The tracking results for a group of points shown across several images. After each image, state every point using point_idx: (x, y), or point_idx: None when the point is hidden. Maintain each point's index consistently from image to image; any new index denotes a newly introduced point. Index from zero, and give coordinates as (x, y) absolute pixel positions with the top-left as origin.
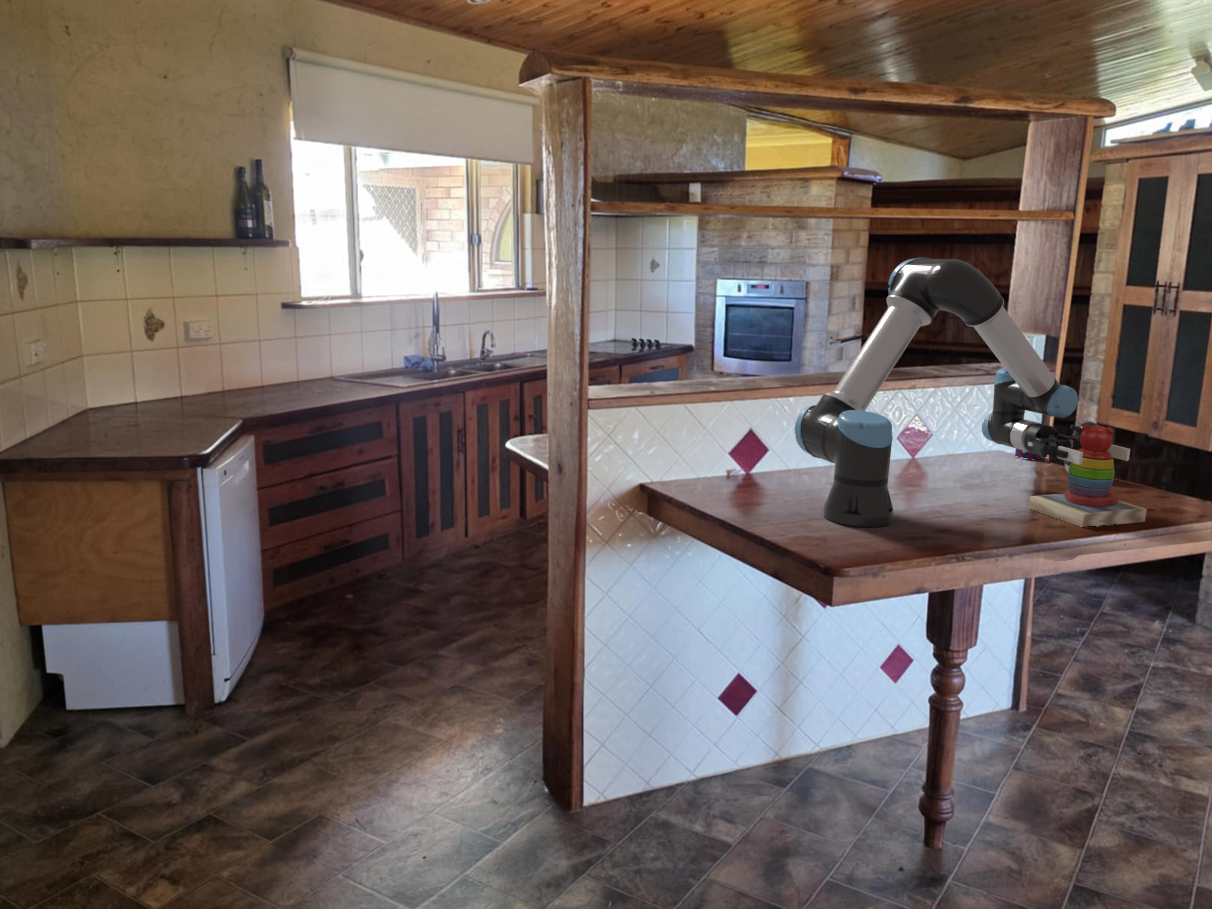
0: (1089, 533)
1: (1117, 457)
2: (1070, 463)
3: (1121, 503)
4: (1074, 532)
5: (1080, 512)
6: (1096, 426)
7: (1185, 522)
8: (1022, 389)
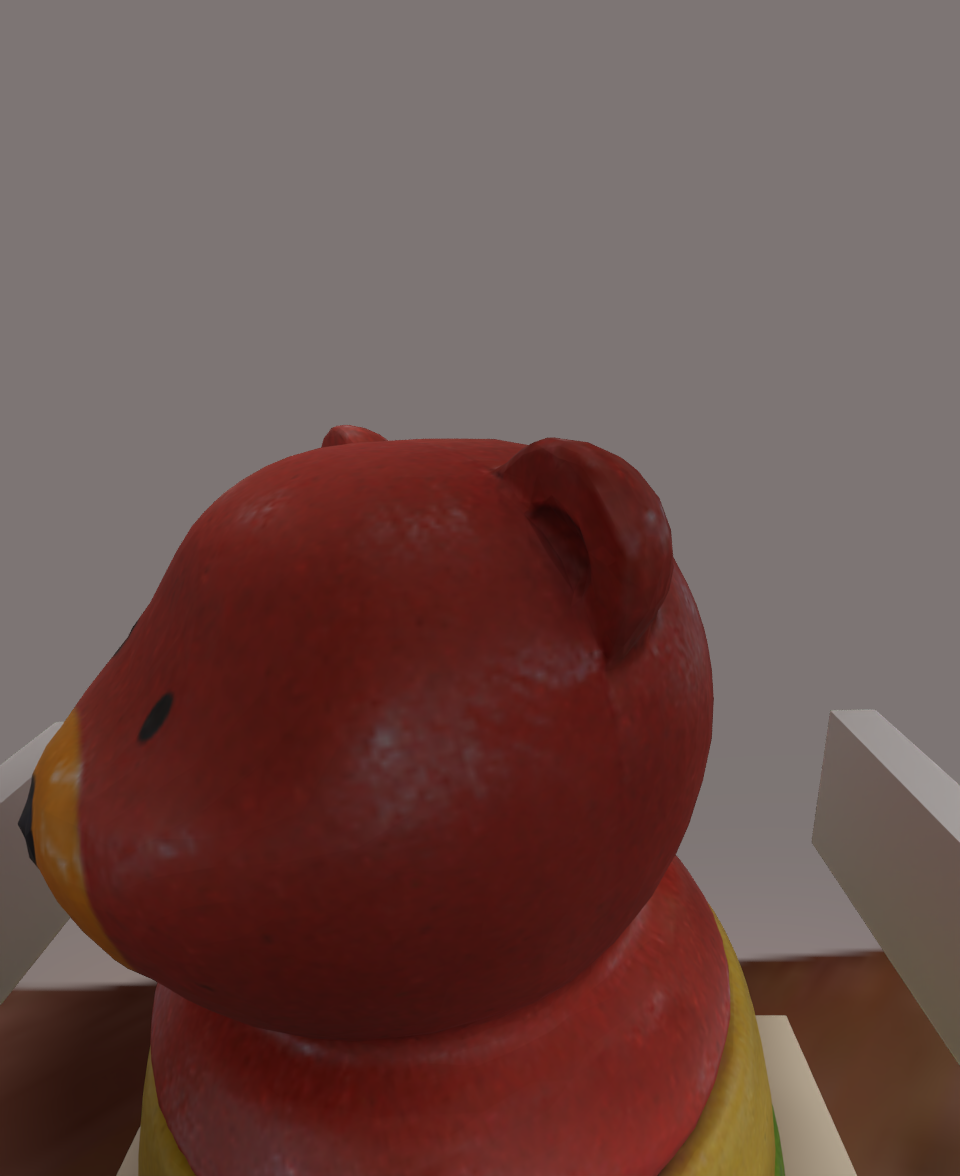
0: (781, 985)
1: (41, 939)
2: None
3: None
4: (877, 1023)
5: (783, 1071)
6: (456, 441)
7: (7, 1003)
8: None
